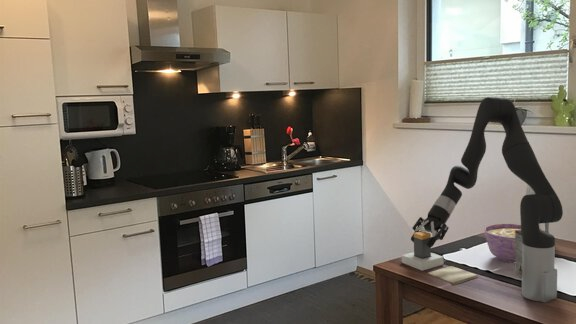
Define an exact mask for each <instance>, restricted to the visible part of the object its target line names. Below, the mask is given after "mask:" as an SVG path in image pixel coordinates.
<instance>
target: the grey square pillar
mask: <svg viewBox="0 0 576 324" xmlns="http://www.w3.org/2000/svg"><path fill="white" fill-rule="evenodd" d="M419 231H420V232H416V233H414V232H413V234H414V242H413V252H414V256H415V257H418V258H421V259H424V258H428V257H431V253H432V251H431V250H432V249H431V248H432V247H431V248H429V247H428V246H427V243H428V241H429V240H430V238H431V237H432V233H431V232H424V231H421V230H419Z"/></svg>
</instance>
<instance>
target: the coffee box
mask: <svg viewBox="0 0 576 324" xmlns="http://www.w3.org/2000/svg"><path fill="white" fill-rule="evenodd" d="M539 230H540V229H539ZM540 231H542V232H545V230H542V229H541V230H540ZM546 233H547V232H546ZM514 264H515V266H514V267H515V274H516V275H517V276H519V277H520V278H521V279H522V234H521V230H516V231H515V263H514Z"/></svg>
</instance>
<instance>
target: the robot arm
mask: <svg viewBox="0 0 576 324" xmlns="http://www.w3.org/2000/svg"><path fill="white" fill-rule="evenodd" d="M490 123H496V124H497V123H498V124H500V125H501V126H502V128H503V130H504V133H505V136H504V140H503V143H502V145H501V154H502V156H503V159H504V161H505V164H506V166H507V168H508V169H509V170H510V172H511V173H513V175H514V176H516V177H517V178H519V179H520V180H521V181H522V182H524V183H525V184H528V185H529V186H530V187H531V188H532V189H533V191H534V192H535V194H530V195H526V194H525V195H524V196H522V198H521V201H520V204H519V209H520V210H519V211H520V212H519V213H520V215H519V216H520V225H521V234H522V278H521V296H522V297H524V298H525V299H527V300H531V301H536V302H542V303H547V302H550V301H552V300H555V299H557V298H558V269H557V268H555V255H556V254H555V251H556V249H555V248H556V238H555V236H554V235H553V234H551V233H550V232H549V233H546V232H542V231H543V230H542V231H540V230H539V224H540V225H541V224H545V223H549V224H550V223H551V224H552V223H557V222H560V220H562V218H563V215H564V211H563V205H562V203H561V200H560V198H559V196H558V194H557V193H556V191H555V189H554V188H553V186H552V184H551V183H550V181H549V180H548V179H547V177H546V175H545V173H544V171H543V169H542V167H541V166H540V163H539V161H538V158H537V156H536V154H535V152H534V150H533V148H532V145H531V144H530V142H529V140H528V138H527V135H526V134H525V131H524V129H523V127H522V124H521V121H520V119H519V115H518V112H517V109H516V107H515V104H514V102H513V101H512V100H511V99H509V98H507V97H501V96H486V97H484V98H483V99H482V100H481V102H480V104H479V106H478V109H477V112H476V115H475V119H474V122H473V126H472V131H471V134H470V138H469V141H468V143H467V146H466V147H465V150H464V152H463V154H462V156H461V159H460V162H461V164H462V165H463V166H462V165H459V164H457V165H454V166H453V167H451V169H450V171H449V174H448V180H447V181H446V185H445V187H444V189H443V190H442V192H441V193H440V195H439V196H438V197H437V199H436V200H435V201H434V203H433V205H432V206H431V208H430V209H429V211H428V212H427V217H426V218H423V217H422V216H421V217H418V219H417V220H416V222H415V223H414V225H413V226H412V227H411V228H412V230H413V231H414V232H413V234H412V236H411V237H410V241H411V242H412V243H414V233H416V232H420V231H424V232H427V233H430V234H431V238H430V240H429V241H428V243H427V246H428V247H429V248H432V247H434V245H435V243H436V242H437V241H439V240H440V241H442V240H444V238H445V237H446V236H445V235H446V234H447V232H448V230H449V228H450V227H449V226H448V225H447V222H448V220H449V219H450V217H451V215H452V214H453V212H454V211H455V208H456V206H457V204H458V202H459V201H460V200H461V198H462V196H463V192H462V191H461V190H460V189H459V188H458V187H457V186H456V185H458V186H460V187H462V188H463V189H468V190H469V189H472V188H473V187H474V186H475V185H476V183H477V181H478V173H479V167H480V164H481V162H482V160H483V158H484V156H485V154H486V151H487V142H486V141H487V140H486V138H485V137H486V136H485V131H486V128H487V126H488V124H490ZM455 184H456V185H455Z"/></svg>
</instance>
